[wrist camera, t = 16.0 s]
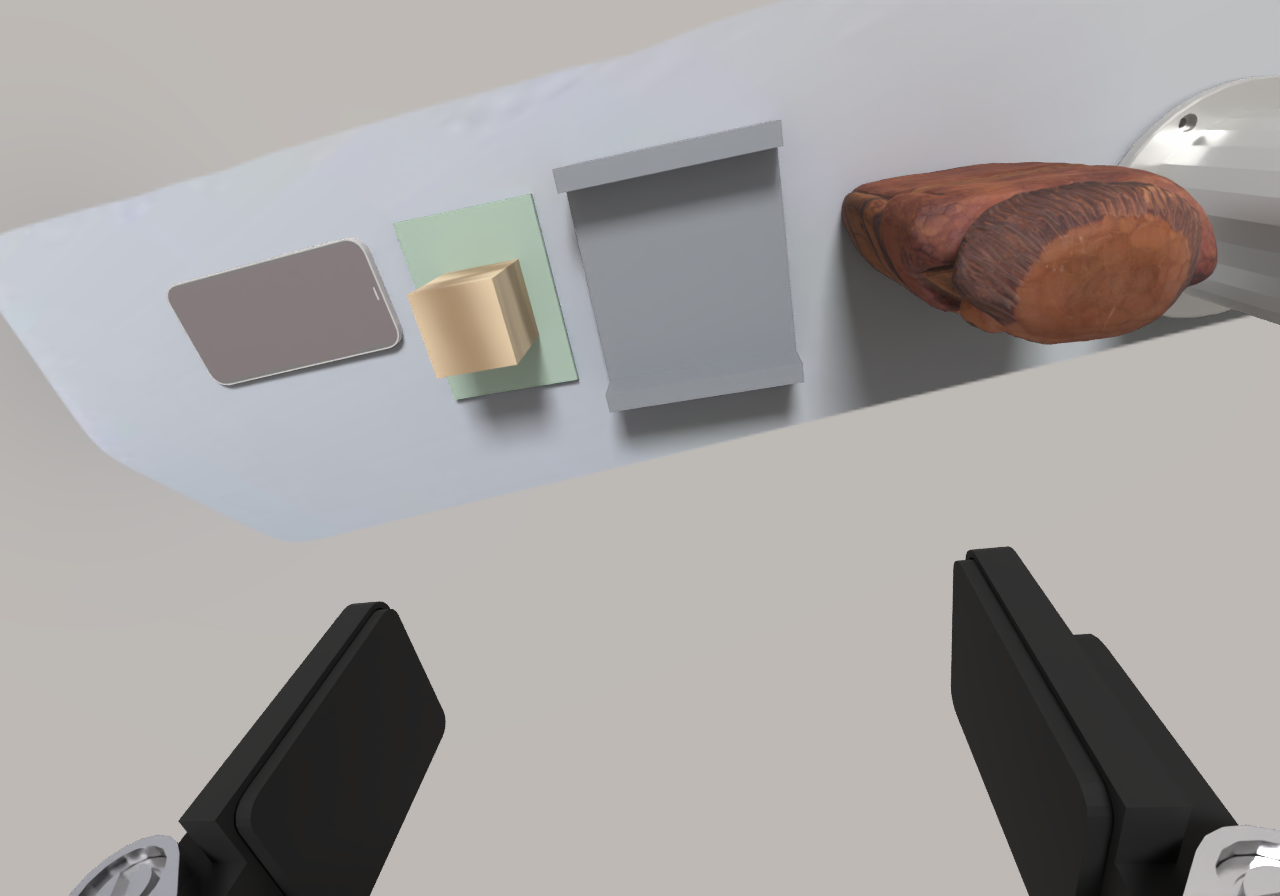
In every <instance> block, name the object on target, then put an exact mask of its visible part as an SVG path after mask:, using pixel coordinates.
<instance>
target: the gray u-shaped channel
mask: <svg viewBox="0 0 1280 896" xmlns="http://www.w3.org/2000/svg"><path fill="white" fill-rule="evenodd" d="M780 146H783V136H782V125H781V120H776V121H770V122H765V123H760V124H756V125H751V126H747V127H742V128H738V129H733V130H728V131H724V132H719V133H715V134H710V135H706V136H701V137H696V138H692V139H687V140H683V141H678V142H674V143H669V144H664V145H660V146H655V147H651V148H646V149H641V150H637V151H632V152H628V153H623V154H619V155H614V156H609V157H605V158H600V159H596V160H591V161H587V162H582V163H577V164H573V165H568V166H564V167H561V168H557V169H553V170H552V171H553V175H554V179H555V184H556V188H557V192H558V194H559V193H564V192H567V196H568V201H569V205H570V209H571V214H572V218H573V222H574V227H575V231H576V235H577V240H578V244H579V248H580V253H581V257H582V261H583V266H584V270H585V274H586V279H587V283H588V287H589V292H590V296H591V300H592V305H593V309H594V313H595V317H596V322H597V326H598V330H599V335H600V339H601V343H602V348H603V352H604V356H605V361H606V365H607V369H608V374H609V378H610V383H609V386H608V389H607V392H606V399H607V403H608V407H609V411H610V412H616V411H622V410H629V409H635V408H641V407H648V406H654V405H661V404H667V403H674V402H680V401H686V400H693V399H699V398H706V397H712V396H718V395H725V394H731V393H738V392H744V391H750V390H757V389H763V388H770V387H776V386H782V385H789V384H795V383H802V382H804V373H803V363H802V361H801V359H800V357H799V355H798V353H797V351H796V343H795V332H794V321H793V310H792V299H791V289H790V278H789V267H788V256H787V245H786V234H785V224H784V213H783V202H782V191H781V180H780V169H779V159H778V148H777V147H780Z"/></svg>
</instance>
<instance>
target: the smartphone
mask: <svg viewBox="0 0 1280 896" xmlns="http://www.w3.org/2000/svg"><path fill="white" fill-rule="evenodd" d="M166 295H167V301H168V303H169V305H170V307H171V309H172V311H173V312H174V314H175V316H176V318H177V319H178V321H179V323H180V325H181V326H182V328H183V330H184V332H185V333H186V335H187V337H188V339H189V340H190V342H191V344H192V345H193V347H194V349H195V351H196V352H197V354H198V356H199V358H200V359H201V361H202V363H203V365H204V366H205V368H206V370H207V372H208V373H209V375H210V376H211V377H212V378H213V379H214V380H215V381H216V382H218V383H220V384H223V385H232V384H237V383H241V382H245V381H250V380H254V379H258V378H263V377H267V376H271V375H276V374H280V373H284V372H289V371H293V370H297V369H302V368H306V367H310V366H315V365H319V364H323V363H328V362H332V361H336V360H341V359H345V358H349V357H354V356H358V355H362V354H367V353H371V352H375V351H380V350H384V349H388V348H391V347H393V346H395V345H396V344H398V343H399V342H400V341H401V339H402V336H403V331H402V327H401V324H400V322H399V319H398V317H397V314H396V312H395V310H394V307H393V305H392V302H391V300H390V298H389V295H388V293H387V290H386V288H385V286H384V283H383V281H382V278H381V276H380V274H379V271H378V269H377V266H376V264H375V262H374V259H373V257H372V254H371V252H370V250H369V248H368V247H367V246H366V244H365V243H364V242H362V241H361V240H359V239H357V238H344V239H340V240H337V241H333V242H329V243H328V242H326V243H322V244H319V245H318V246H312V247H309V248H305V249H301V250H298V251H296V252H295V251H294V252H290V253H286V254H283V255H279V256H277V257H273V258H270V259H266V260H262V261H259V262H255V263H251V264H247V265H244V266H240V267H236V268H233V269H229V270H225V271H221V272H218V273H214V274H210V275H207V276H203V277H199V278H196V279H192V280H188V281H184V282H181V283H178V284H174V285H172V286H170V287H169V288H168V290H167V294H166Z"/></svg>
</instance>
